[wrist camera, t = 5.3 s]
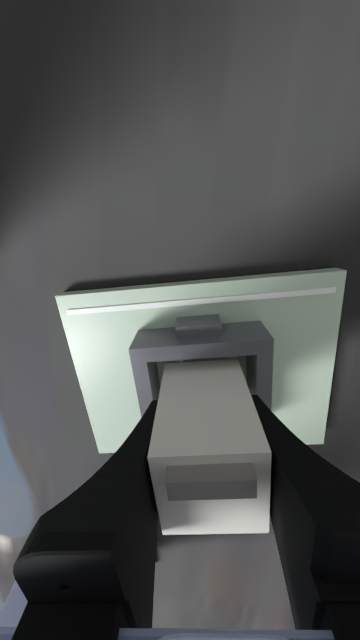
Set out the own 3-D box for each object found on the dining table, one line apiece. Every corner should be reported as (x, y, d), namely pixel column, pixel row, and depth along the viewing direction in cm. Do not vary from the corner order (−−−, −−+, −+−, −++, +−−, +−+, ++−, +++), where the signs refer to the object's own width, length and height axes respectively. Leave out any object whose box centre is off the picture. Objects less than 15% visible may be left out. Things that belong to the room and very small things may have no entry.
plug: (172, 420, 15) (160, 554, 9) (165, 363, 14) (143, 474, 8) (239, 417, 15) (273, 552, 9) (237, 358, 13) (278, 469, 7)
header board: (103, 442, 19) (85, 486, 16) (63, 292, 15) (27, 310, 12) (316, 432, 18) (344, 478, 15) (336, 267, 14) (381, 279, 11)
